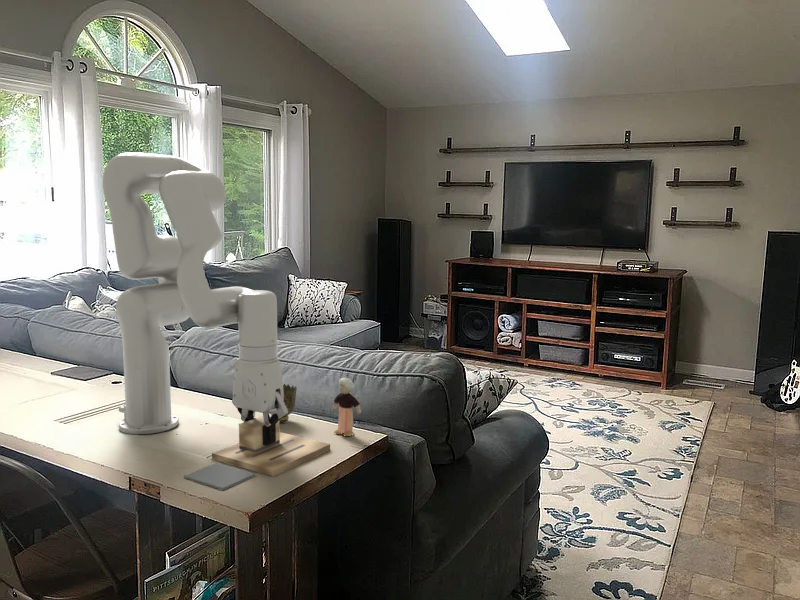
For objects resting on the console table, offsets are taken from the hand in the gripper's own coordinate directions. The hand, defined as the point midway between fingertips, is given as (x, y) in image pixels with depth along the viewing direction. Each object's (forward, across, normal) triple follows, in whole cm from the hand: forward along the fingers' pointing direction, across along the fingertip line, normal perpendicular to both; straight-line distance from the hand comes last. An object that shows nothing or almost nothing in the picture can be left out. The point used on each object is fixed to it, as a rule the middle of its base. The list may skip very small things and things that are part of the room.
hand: (259, 440), depth 141 cm
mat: (+2, +3, -14) cm, 15 cm away
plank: (+2, +3, 0) cm, 4 cm away
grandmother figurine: (+2, +8, +18) cm, 20 cm away
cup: (+3, -10, +17) cm, 20 cm away
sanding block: (+1, 0, 0) cm, 1 cm away
